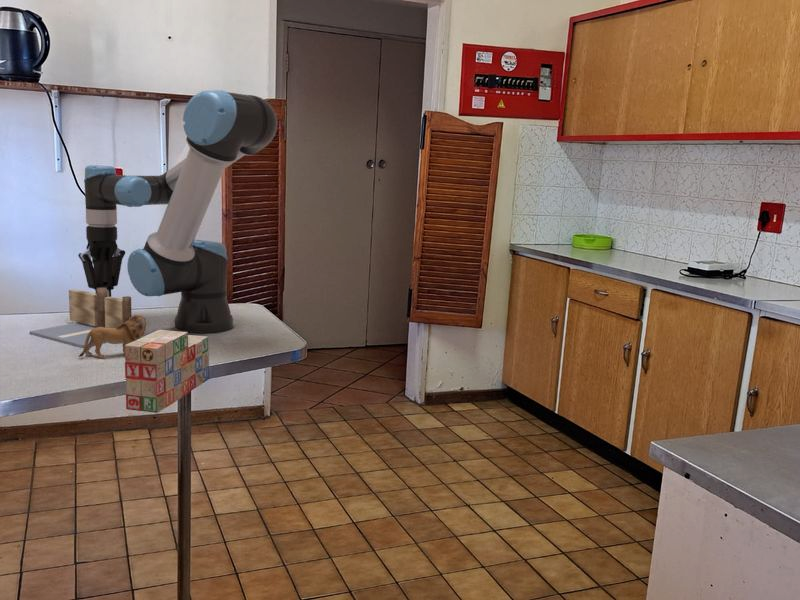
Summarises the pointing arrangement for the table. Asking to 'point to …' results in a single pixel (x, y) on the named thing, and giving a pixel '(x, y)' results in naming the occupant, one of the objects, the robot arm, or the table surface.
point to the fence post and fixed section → (112, 309)
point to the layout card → (67, 333)
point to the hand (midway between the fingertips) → (103, 313)
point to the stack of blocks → (164, 369)
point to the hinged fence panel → (83, 307)
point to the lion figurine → (115, 335)
